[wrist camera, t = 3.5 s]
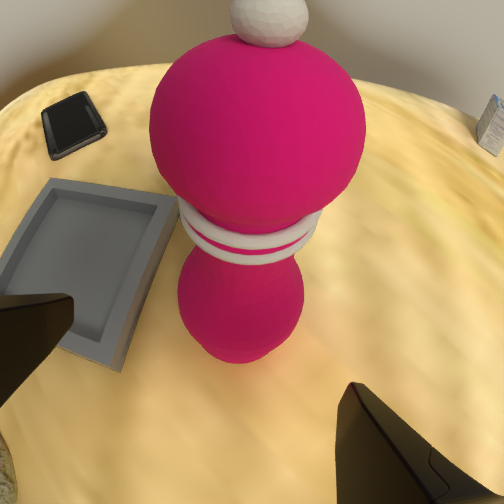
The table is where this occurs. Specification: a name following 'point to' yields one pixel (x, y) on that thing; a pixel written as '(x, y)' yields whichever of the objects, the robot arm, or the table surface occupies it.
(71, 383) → the table surface
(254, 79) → the pepper mill
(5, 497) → the ceramic model
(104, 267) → the grey tray
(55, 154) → the phone
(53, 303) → the robot arm
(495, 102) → the medicine box
